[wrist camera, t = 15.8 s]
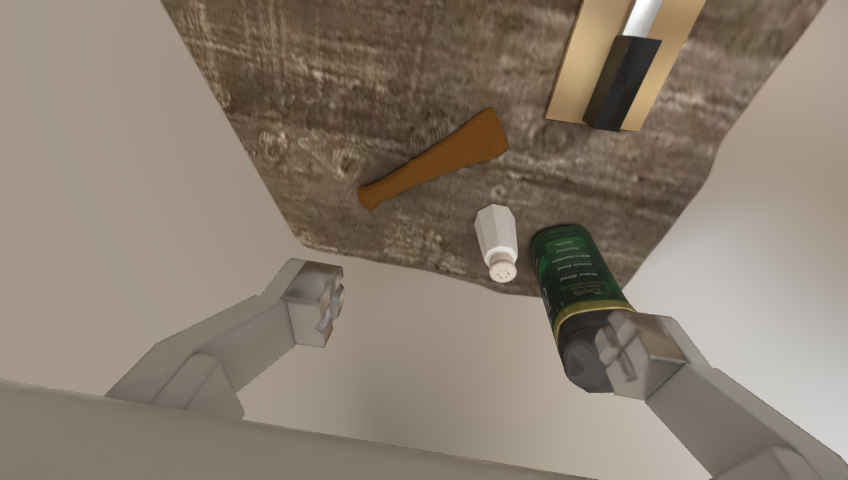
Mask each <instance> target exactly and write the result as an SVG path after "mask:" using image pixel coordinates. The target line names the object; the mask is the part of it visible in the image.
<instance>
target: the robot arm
mask: <svg viewBox="0 0 848 480" xmlns="http://www.w3.org/2000/svg"><path fill="white" fill-rule="evenodd" d="M342 278H343V268H342V267H341V266H336V265H330V264H325V263H319V262H314V261H306V260H300V259H295V258H292V259H290V260H288V261H287V262H286V263H285V265H284V266H283V267H282V268H281V270H280V271H279V272H278V274H277V275H276V276H275V277H274V279H273V280H272V281H271V283H270V284H269V285H268V286H267V288H266V289H265V291H264V292H263V293H262V294H261V295H260V296H257V295H254V296H252V297H250V298H248V299H246V300H244V301H242V302H240V303H238V304H236V305H234V306H232V307H230V308H228V309H226V310H224V311H221V312H219V313H217V314H215V315H213V316H211V317H209V318H207V319H205V320H203V321H201V322H199V323H197V324H195V325H193V326H191V327H189V328H187V329H185V330H183V331H181V332H178V333H176V334H175V335H172V336H170V337H168V338H166V339H164V340H162V341H160V342H158V343H156V344H155V345H154V346H153V347H152V348H151V349H150V350H149V351H148V352H147V353H146V354H145V355H144V356H143V357H142V358H141V359H140V360H139V361H138V362H137V363H136V364H135V365H134V366H133V367H132V368H131V369H130V370H129V371H128V372H127V373H126V374H125V375H124V376H123V377H122V378H121V379H120V380H119V381H118V382H117V383H116V384H115V385H114V386H113V387H112V388H111V390H109V391H108V392H107V393H106V395H104V396H98V395H92V394H86V393H80V392H74V391H69V390H62V389H56V388H51V387H45V386H39V385H32V384H27V383H21V382H15V381H9V380H3V379H0V480H598V479H591V478H585V477H580V476H574V475H568V474H562V473H556V472H550V471H544V470H538V469H532V468H526V467H521V466H515V465H509V464H503V463H497V462H490V461H485V460H479V459H473V458H467V457H461V456H455V455H449V454H444V453H438V452H432V451H426V450H420V449H413V448H408V447H402V446H396V445H390V444H384V443H378V442H372V441H366V440H360V439H354V438H348V437H342V436H336V435H330V434H325V433H319V432H313V431H306V430H301V429H295V428H289V427H283V426H276V425H271V424H265V423H259V422H253V421H247V420H242V418H243V416H244V414H245V413H244V409H243V406H242V404H241V402H240V400H239V398H238V396H237V394H236V393H237V392H238V391H239V390H241V389H242V388H243V387H244V386H245V385H247V384H248V383H249V382H250V381H252V380H253V379H254V378H255V377H257V376H258V375H259V374H261V373H262V372H263V371H264V370H266V369H267V368H268V367H269V366H271V365H272V364H273V363H274V362H276V361H277V360H278V359H279V358H280V357H282V356H283V355H284V354H285V353H287V352H288V351H289V350H290V349H292V348H293V347H294V346H295V344H298V345H306V346H313V347H321V348H324V347H325V345H326V343H327V341H328V339H329V336H330V334H331V332H332V329H333V326H332V321H333V320H334V319H336V318H337V317H338V316H339V314H340V311H341V308H342V305H343V300H344V287H343V285H342V284H341V283H340V282H341V280H342ZM608 321H609V324H607V325H605V326H603V327H601V328H600V329H599V331H598V332H597V334H596V338H595V348H596V352H597V355H598V357H599V359H600V360H601V361H602V362H603V363H604V364H605V365H606V366H607V369H606V371H605V374H606V376H607V379H608V381H609V383H610V386H611V388H612V390H613V393H614V395H618V396H623V397H628V398H633V399H639V400H644V401H646V402H645V403H646V404H647V405H648V406H649V407H650V408H651V410H652V411H653V412H654V413H655V414H656V415H657V416H658V417H659V418H660V419H661V421H662V422H663V423H664V424H665V425H666V426H667V427H668V428H669V429H670V430H671V432H673V434H674V435H675V436H676V437H677V438H678V439H679V440H680V441H681V443H682V444H684V446H685V447H686V448H687V449H688V450H689V451H690V452H691V454H692V455H693V456H694V457H695V458H696V459H697V460H698V461H699V462H700V463H701V465H702V466H703V467H704V468H705V469H706V470H707V471H708V472H709V473H710V474H711V475H712V477H713V478H711V479H709V480H848V464H847V463H846V462H845V461H844V460H843V459H842V458H841V456H839V455H838V454H837V453H835V452H834V451H832V450H831V449H830V448H828V447H827V446H826V445H824V444H823V443H821V442H820V441H819V440H817V439H816V438H814V437H813V436H811V435H810V434H809V433H807V432H806V431H805V430H803V429H801V428H800V427H799V426H798V425H796V424H794V423H793V422H792V421H791V420H789V419H788V418H786V417H785V416H784V415H782V414H781V413H779V412H778V411H777V410H775V409H774V408H772V407H771V406H770V405H768V404H767V403H765V402H764V401H762V400H761V399H760V398H758V397H757V396H755V395H754V394H753V393H751V392H750V391H748V390H747V389H746V388H744V387H743V386H741V385H740V384H739V383H737V382H736V381H734V380H733V379H732V378H730V377H729V376H728V375H726V374H725V373H723V372H722V371H721V370H719V369H717V368H712V367H711V366H710V364H709V363H708V362H707V360H706V359H705V358H704V357H703V355H702V354H701V352H700V351H699V350H698V348H697V347H696V346H695V344H694V343H693V342H692V340H691V339H690V338H689V337H688V335H687V334H686V333H685V331H684V330H683V329H682V327H681V326H680V325H679V323H678V322H677V321H676V320H674V319H673V318H672V317H668V316H660V315H654V314H645V313H639V312H632V311H626V310H619V309H616V310H614V311H612V312H611V313H610V315H609V316H608Z"/></svg>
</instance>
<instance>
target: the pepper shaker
mask: <svg viewBox="0 0 848 480" xmlns="http://www.w3.org/2000/svg"><path fill="white" fill-rule="evenodd" d="M474 226H475V230H476V234H477V237H478V241H479V245H480V248H481V252H482V256H483V259H484V261H485V262H486V264H487V265H488V267H489V268H490V277H491V278H492V279H493V280H495V281H497V282H508V281H511V280H512V279H513V278H514V277H515V276H516V273H517V270H516V267H515V261H516V259H517V255H518V253H517V240H516V227H515V218H514V217H513V215H512V213H511V212H510V210H509V208H508V207H505V206H501V205H496V204H491V205H489V206H487V207H485V208H483V209H481V210H479V211H478V213H477V216H476V219H475V223H474Z"/></svg>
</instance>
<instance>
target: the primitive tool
mask: <svg viewBox="0 0 848 480" xmlns="http://www.w3.org/2000/svg"><path fill="white" fill-rule="evenodd" d="M508 147H509V144H508V141H507V139H506V135H505V132H504V129H503V128H502V125H501V123H500V121H499V119H498V117H497V115H496V113H495V112H494V110H493V108H488V109H486V110H484V111H482V112H480V113H479V114H478V115H476V116H474V117H473V118H472V119H470V120H469V121H468V122H467V123H465V124H464V125H463V126H462V127H460V128H459V129H458V130H457V131H455V132H454V133H453V134H452V135H450V136H449V137H447V138H446V139H445V140H443V141H442V142H440V143H438V144H436V145H433V146H432V147H431V149H430V150H428V151H427V152H425V153H423V154H422V155H420V156H419V157H417V158H415V159H413V160H412V161H409V162H408V163H407V164H406V165H405V166H404V167H401V168H400V169H398V170H396V171H395V172H393V173H392V174H390V175H388V176H387V177H385V178H383V179H382V180H380V181H378V182H376V183H374V184H371V185H369V186H358V188H357V194H358V198H359V201H360V202H361V204H362V206H363V207H364V208H365V209H366V210H369V211H374V210H375V208H376V206H377V205H378V204H379V203H381V202H382V201H384V200H386V199H389V198H393V197H395V196H396V195H398V194H399V193H401V192H403V191H404V190H407V189H409V188H412V187H413V186H416V185H420V184H421V183H424V182H426V181H428V180H431V179H433V178H436V177H439V176H440V175H443V174H446V173H449V172H451V171H455V170H458V169H460V168H463V167H466V166H470V165H473V164H474V163H479V162H481V161H485V162H487V163H488V162H489V161H490V160H492V159H493V158H497V157H499V156H501V155H502V154H503V153H504V152H505V151H507V149H508Z"/></svg>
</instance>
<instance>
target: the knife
mask: <svg viewBox="0 0 848 480" xmlns="http://www.w3.org/2000/svg"><path fill="white" fill-rule="evenodd" d="M662 2H663V0H633V1H632V3H631V6H630V8H629V11H628V13H627V16H626V18H625V20H624V23H623V25H622V28H621V30H620V33H619V36H616V37H615V39H614V42H613V44H612V47H611V49H610V52H609V54H608V57H607V59H606V62H605V64H604V67H603V69H602V71H601V74H600V76H599V79H598V81H597V84H596V86H595V89H594V91H593V94H592V96H591V99H590V101H589V104H588V106H587V109H586V111H585V114H584V116H583V119H582V121H583V122H585V123H586V124H588V125H589V126H590V127H592V128H595V129H602V130H608V131H615V132H619V130H620V128H621V126H622V124H623V122H624V120H625V118H626V116H627V114H628V111H629V109H630V107H631V105H632V103H633V101H634V99H635V97H636V95H637V93H638V91H639V89H640V87H641V84H642V82H643V80H644V78H645V76H646V74H647V72H648V70H649V68H650V66H651V64H652V62H653V60H654V57H655V55H656V53H657V51H658V49H659V47H660V45H661V43H662V40H658V39H651V38H647V35H648V33H649V31H650V29H651V27H652V24H653V22H654V20H655V18H656V16H657V13H658V11H659V9H660V7H661V5H662Z"/></svg>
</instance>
